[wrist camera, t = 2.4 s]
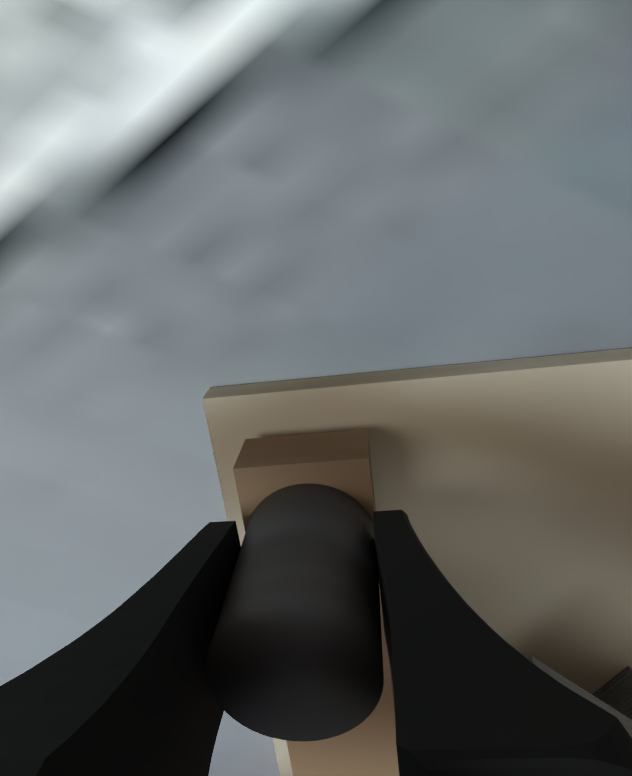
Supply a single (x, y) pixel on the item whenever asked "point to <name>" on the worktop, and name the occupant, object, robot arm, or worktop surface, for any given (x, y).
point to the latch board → (486, 487)
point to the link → (308, 608)
